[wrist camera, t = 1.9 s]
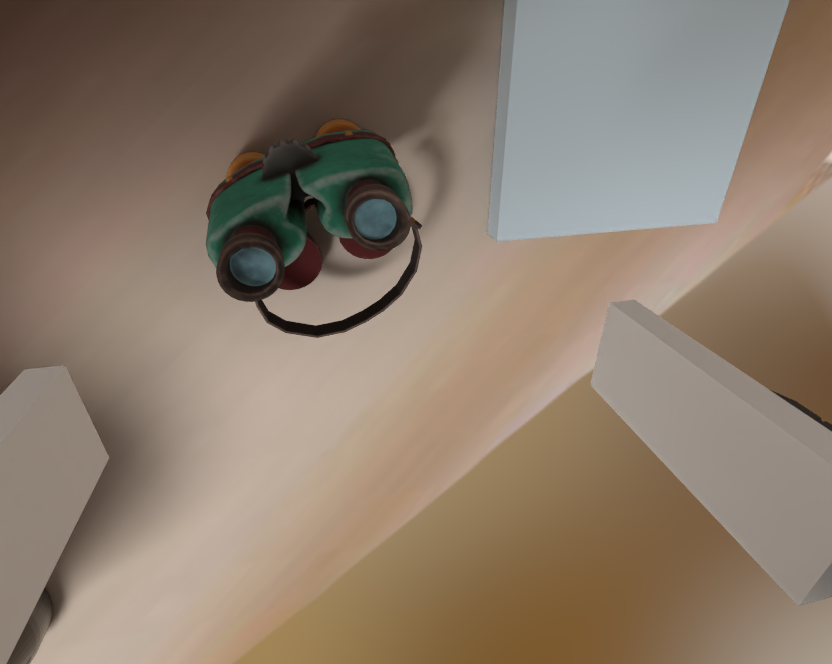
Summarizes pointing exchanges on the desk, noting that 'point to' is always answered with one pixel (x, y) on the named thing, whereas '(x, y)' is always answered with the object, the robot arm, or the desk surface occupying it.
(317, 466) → the desk surface
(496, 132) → the board
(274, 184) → the binoculars
